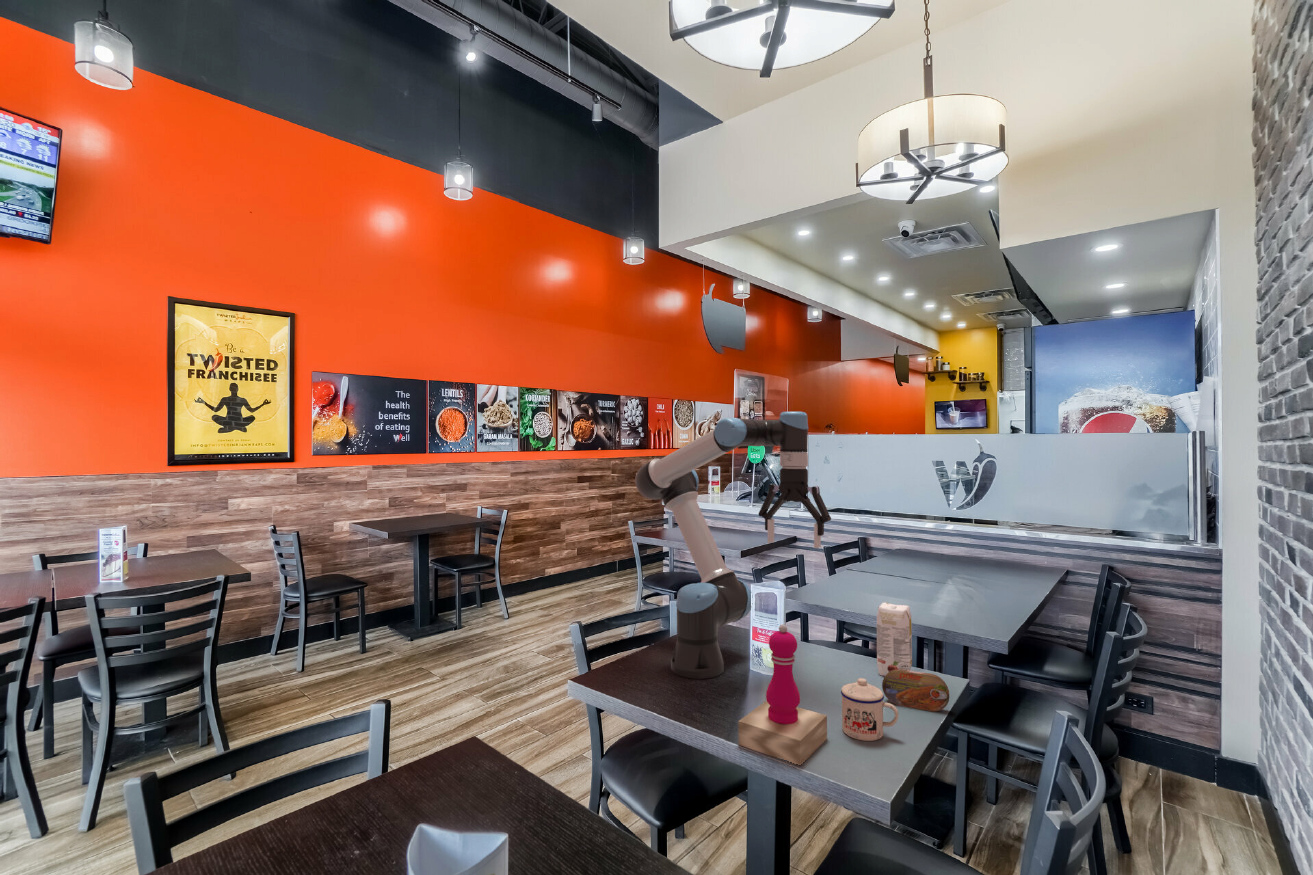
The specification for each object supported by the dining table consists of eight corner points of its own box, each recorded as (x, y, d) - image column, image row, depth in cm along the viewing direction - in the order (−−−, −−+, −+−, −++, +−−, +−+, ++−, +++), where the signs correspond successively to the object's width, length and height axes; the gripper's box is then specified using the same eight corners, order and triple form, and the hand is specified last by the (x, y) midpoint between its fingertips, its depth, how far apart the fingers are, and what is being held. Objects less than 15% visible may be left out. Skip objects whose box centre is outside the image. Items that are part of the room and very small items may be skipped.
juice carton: (908, 681, 161) (908, 611, 161) (875, 675, 165) (875, 606, 166) (913, 672, 167) (912, 604, 168) (881, 667, 172) (880, 600, 172)
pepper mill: (800, 712, 131) (800, 621, 131) (799, 727, 124) (799, 630, 124) (767, 708, 133) (767, 618, 133) (764, 723, 126) (764, 627, 126)
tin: (882, 702, 148) (881, 668, 148) (883, 697, 151) (883, 664, 151) (949, 715, 141) (949, 679, 141) (949, 709, 144) (949, 674, 144)
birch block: (738, 744, 127) (738, 720, 127) (768, 720, 138) (768, 698, 138) (800, 765, 118) (800, 740, 118) (827, 738, 129) (826, 715, 130)
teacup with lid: (838, 736, 130) (837, 683, 131) (844, 719, 139) (843, 669, 139) (897, 748, 125) (896, 692, 125) (899, 730, 133) (899, 677, 134)
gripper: (746, 466, 169) (746, 541, 168) (833, 469, 154) (832, 551, 153) (759, 466, 175) (758, 538, 174) (843, 468, 160) (843, 547, 159)
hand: (793, 545), depth 164 cm, fingers open, 13 cm apart
